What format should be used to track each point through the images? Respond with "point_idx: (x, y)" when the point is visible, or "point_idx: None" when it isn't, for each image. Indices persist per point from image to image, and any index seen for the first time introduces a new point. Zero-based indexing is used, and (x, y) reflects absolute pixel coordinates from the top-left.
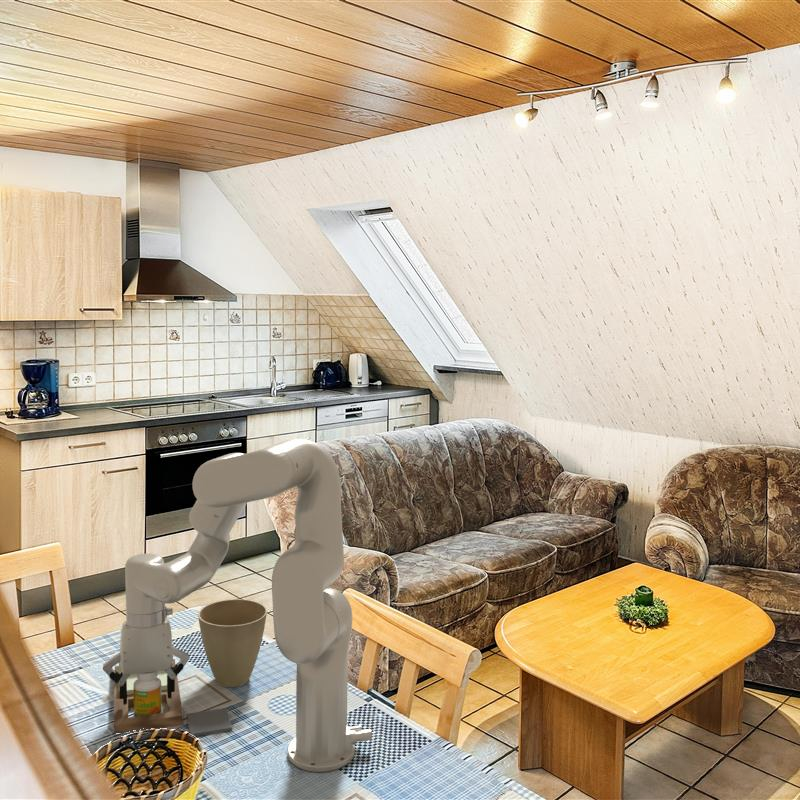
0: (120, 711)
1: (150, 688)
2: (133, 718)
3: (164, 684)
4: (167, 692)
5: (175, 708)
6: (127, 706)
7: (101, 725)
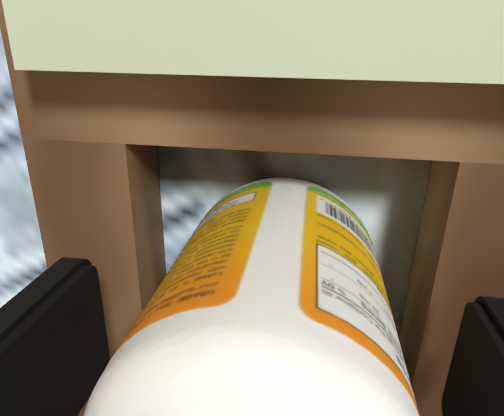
0: None
1: None
2: None
3: (492, 58)
4: (462, 361)
5: None
6: (132, 253)
7: (29, 272)
